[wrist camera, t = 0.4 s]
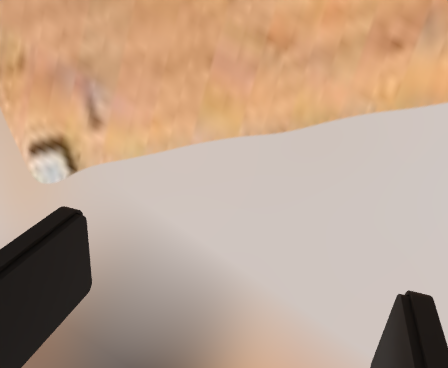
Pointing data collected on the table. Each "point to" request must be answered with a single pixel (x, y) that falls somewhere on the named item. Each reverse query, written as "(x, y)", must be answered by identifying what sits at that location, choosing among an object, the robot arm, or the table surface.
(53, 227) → the robot arm
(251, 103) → the table surface
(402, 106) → the table surface
